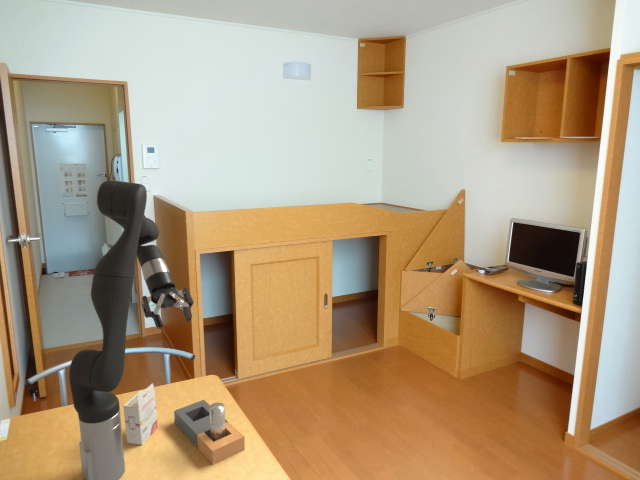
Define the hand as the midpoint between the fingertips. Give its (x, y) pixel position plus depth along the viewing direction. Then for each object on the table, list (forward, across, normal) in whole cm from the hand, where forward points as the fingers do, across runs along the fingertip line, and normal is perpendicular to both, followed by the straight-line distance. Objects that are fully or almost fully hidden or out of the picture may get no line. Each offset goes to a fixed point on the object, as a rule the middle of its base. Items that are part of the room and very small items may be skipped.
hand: (175, 324), depth 137 cm
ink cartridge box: (+22, -12, +21) cm, 33 cm away
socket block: (+31, +2, +13) cm, 33 cm away
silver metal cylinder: (+35, +2, +9) cm, 36 cm away
